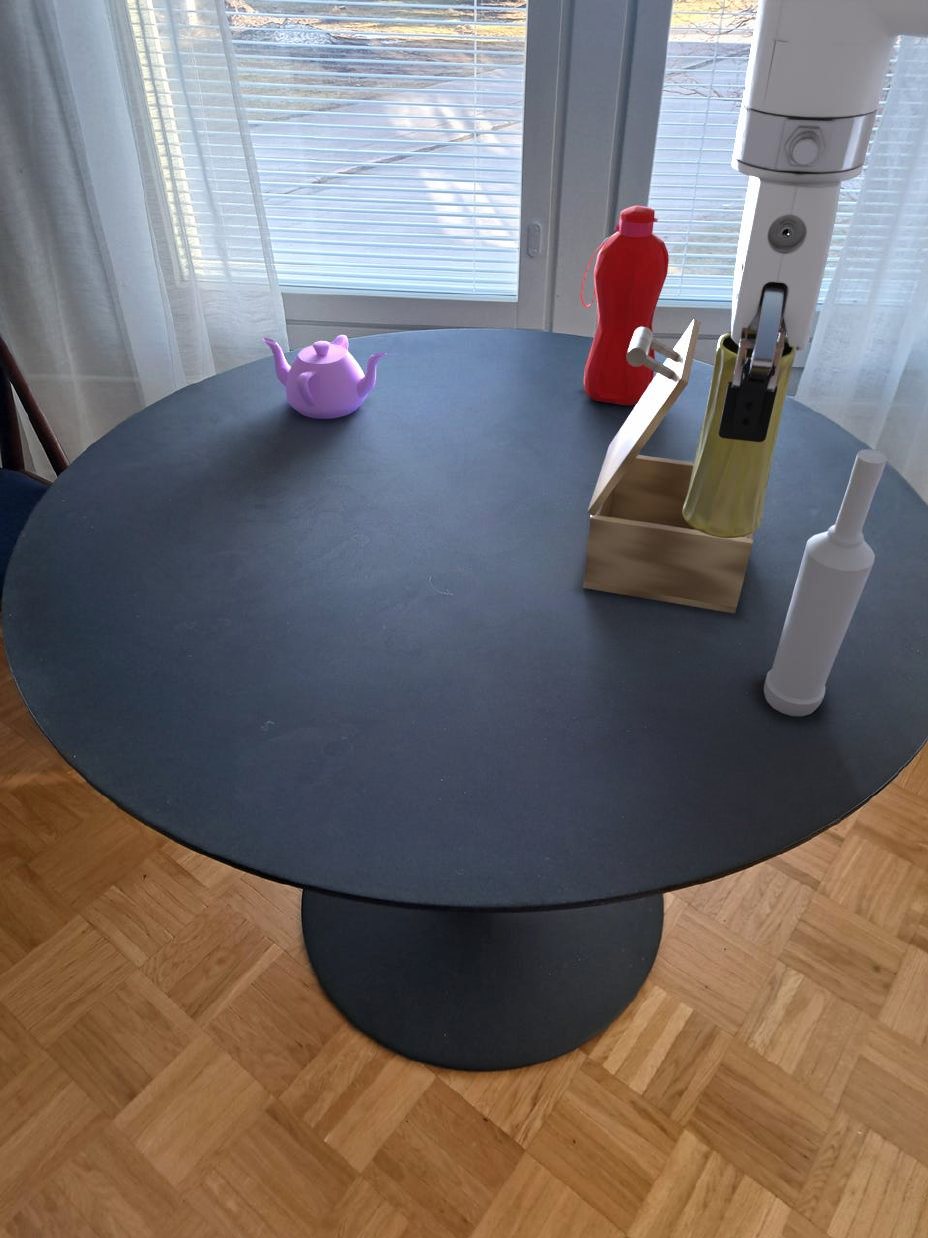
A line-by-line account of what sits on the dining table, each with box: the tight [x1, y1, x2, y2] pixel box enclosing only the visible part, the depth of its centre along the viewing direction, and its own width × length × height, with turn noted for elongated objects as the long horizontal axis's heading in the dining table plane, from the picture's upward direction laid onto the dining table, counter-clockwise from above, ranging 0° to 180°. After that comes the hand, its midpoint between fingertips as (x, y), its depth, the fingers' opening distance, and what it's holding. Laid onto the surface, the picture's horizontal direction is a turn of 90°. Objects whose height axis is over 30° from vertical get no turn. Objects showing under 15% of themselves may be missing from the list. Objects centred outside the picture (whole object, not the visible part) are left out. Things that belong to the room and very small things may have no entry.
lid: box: [587, 318, 702, 516], centre depth 85 cm, size 16×14×5 cm
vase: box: [682, 330, 797, 538], centre depth 65 cm, size 6×6×14 cm
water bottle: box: [580, 205, 670, 407], centre depth 118 cm, size 9×11×25 cm
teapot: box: [262, 334, 387, 420], centre depth 121 cm, size 12×14×9 cm
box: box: [582, 454, 755, 615], centre depth 92 cm, size 16×14×9 cm
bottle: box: [763, 448, 888, 717], centre depth 71 cm, size 5×5×25 cm
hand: (743, 415), depth 63 cm, fingers closed on vase, 5 cm apart
